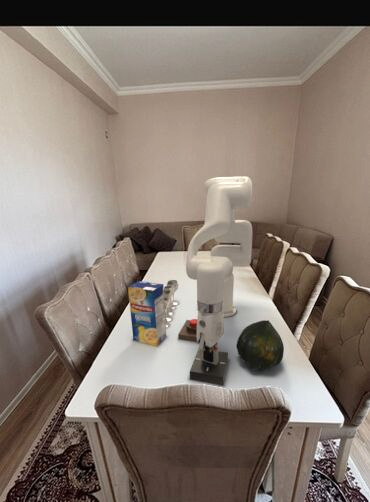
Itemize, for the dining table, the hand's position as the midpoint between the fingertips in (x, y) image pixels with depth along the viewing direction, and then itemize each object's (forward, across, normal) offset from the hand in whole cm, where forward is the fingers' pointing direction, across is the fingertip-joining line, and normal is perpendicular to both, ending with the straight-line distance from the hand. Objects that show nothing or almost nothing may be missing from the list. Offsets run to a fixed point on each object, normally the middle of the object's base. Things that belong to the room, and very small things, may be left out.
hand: (209, 358), depth 78 cm
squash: (+4, +12, -12) cm, 17 cm away
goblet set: (+4, +26, +34) cm, 43 cm away
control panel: (+4, 0, 0) cm, 4 cm away
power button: (0, +16, +15) cm, 22 cm away
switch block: (+4, +16, +15) cm, 23 cm away
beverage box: (+4, +4, +28) cm, 29 cm away
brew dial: (+1, 0, 0) cm, 1 cm away
